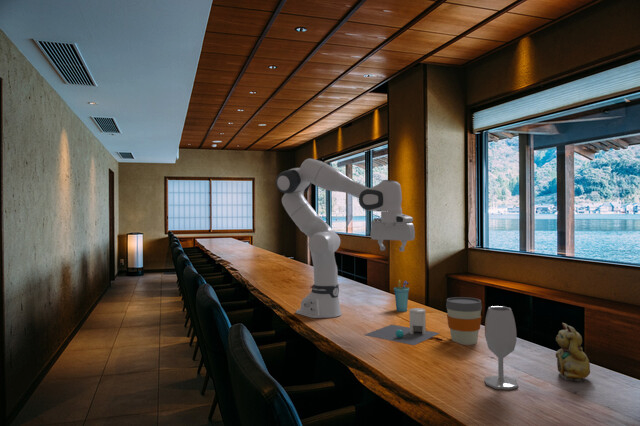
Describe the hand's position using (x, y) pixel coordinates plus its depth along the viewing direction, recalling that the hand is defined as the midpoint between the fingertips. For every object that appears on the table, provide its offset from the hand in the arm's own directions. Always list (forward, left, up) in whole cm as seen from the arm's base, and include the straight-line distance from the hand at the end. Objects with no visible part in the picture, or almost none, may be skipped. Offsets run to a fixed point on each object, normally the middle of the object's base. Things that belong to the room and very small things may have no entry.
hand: (392, 250), depth 193 cm
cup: (-10, +24, -31) cm, 41 cm away
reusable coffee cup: (+34, -6, -31) cm, 47 cm away
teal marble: (+14, -18, -29) cm, 37 cm away
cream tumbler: (+16, -8, -31) cm, 35 cm away
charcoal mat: (+12, -13, -31) cm, 36 cm away
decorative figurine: (+73, -21, -31) cm, 82 cm away
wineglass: (+59, -39, -31) cm, 77 cm away
